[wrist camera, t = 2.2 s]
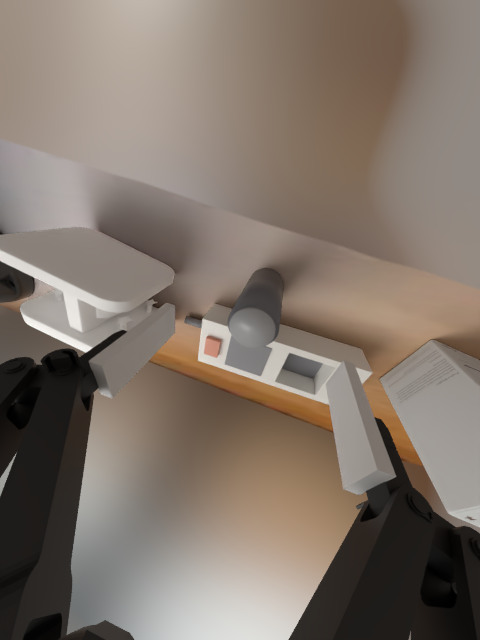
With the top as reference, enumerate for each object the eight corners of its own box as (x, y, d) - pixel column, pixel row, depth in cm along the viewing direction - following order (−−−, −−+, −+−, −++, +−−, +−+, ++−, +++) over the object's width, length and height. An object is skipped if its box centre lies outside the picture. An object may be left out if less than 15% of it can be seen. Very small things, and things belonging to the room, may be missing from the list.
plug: (244, 272, 24) (218, 310, 16) (280, 264, 23) (272, 301, 14) (253, 303, 26) (234, 352, 18) (286, 298, 25) (283, 348, 16)
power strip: (187, 335, 33) (171, 354, 28) (189, 295, 28) (171, 311, 24) (333, 383, 30) (340, 412, 26) (361, 348, 26) (374, 376, 22)
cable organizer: (187, 271, 26) (127, 309, 17) (174, 325, 32) (124, 376, 23) (91, 223, 26) (-28, 234, 16) (95, 286, 32) (11, 321, 22)
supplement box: (430, 403, 28) (539, 559, 16) (376, 378, 28) (443, 515, 16) (498, 366, 23) (739, 556, 11) (432, 336, 23) (596, 491, 11)
